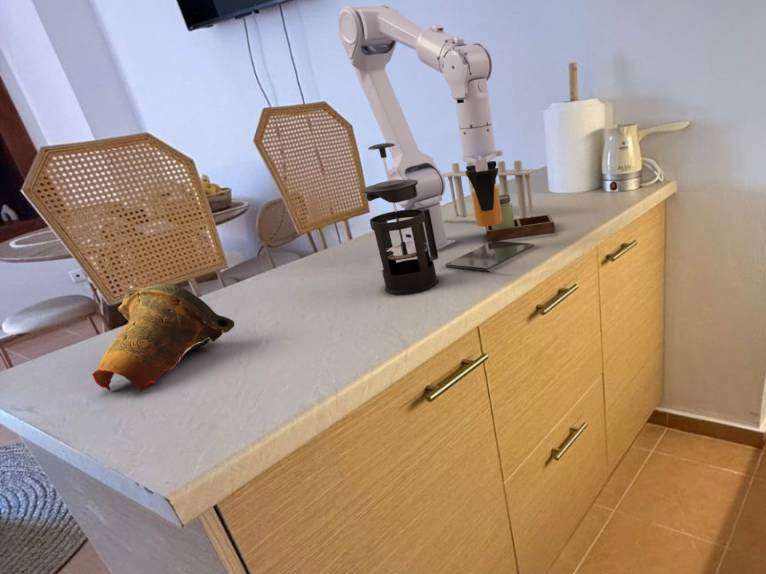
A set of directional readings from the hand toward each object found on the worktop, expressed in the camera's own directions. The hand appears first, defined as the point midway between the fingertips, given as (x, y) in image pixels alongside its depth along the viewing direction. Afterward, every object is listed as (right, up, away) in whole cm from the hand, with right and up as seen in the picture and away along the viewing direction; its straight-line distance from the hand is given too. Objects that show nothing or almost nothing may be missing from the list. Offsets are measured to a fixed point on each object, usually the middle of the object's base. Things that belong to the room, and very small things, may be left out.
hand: (487, 207), depth 102 cm
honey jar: (0, -3, +1) cm, 3 cm away
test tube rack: (0, +6, +31) cm, 31 cm away
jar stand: (+6, -1, +16) cm, 17 cm away
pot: (-45, -29, -21) cm, 57 cm away
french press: (-13, -15, -4) cm, 20 cm away
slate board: (+1, -8, +4) cm, 9 cm away
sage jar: (+3, -1, +15) cm, 16 cm away
